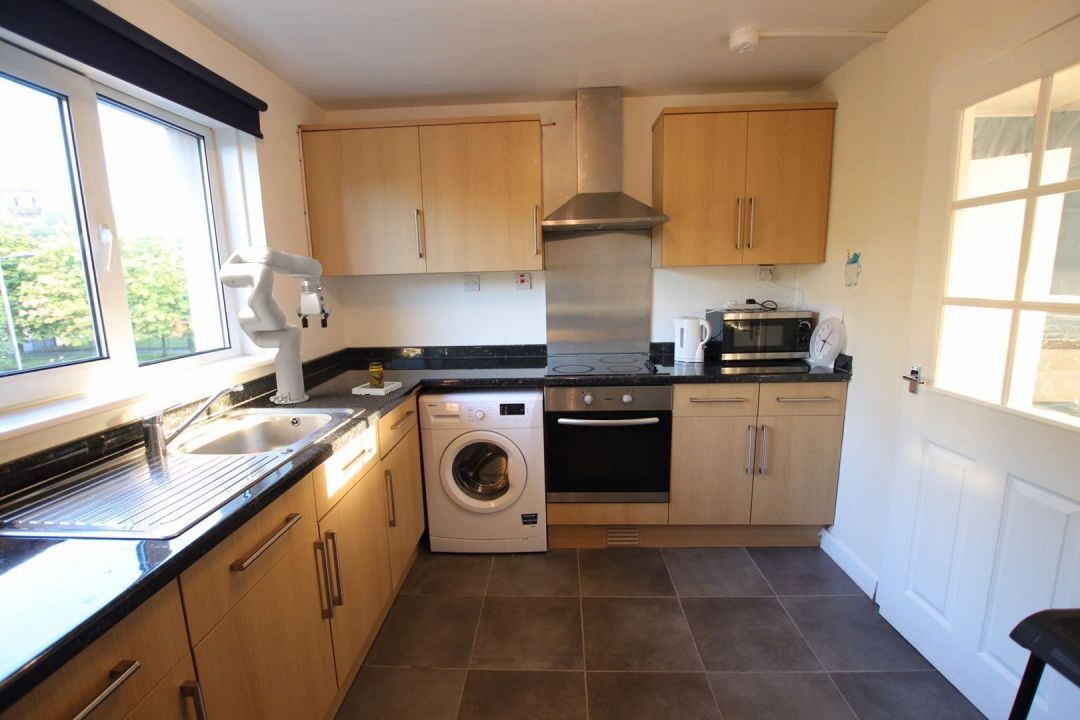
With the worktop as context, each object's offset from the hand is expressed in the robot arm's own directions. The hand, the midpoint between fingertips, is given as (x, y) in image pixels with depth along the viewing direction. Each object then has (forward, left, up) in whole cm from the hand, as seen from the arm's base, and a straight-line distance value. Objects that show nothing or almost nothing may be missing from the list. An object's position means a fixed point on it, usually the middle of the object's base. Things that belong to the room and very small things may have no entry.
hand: (314, 327), depth 211 cm
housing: (-3, -31, -28) cm, 42 cm away
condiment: (-3, -30, -28) cm, 41 cm away
